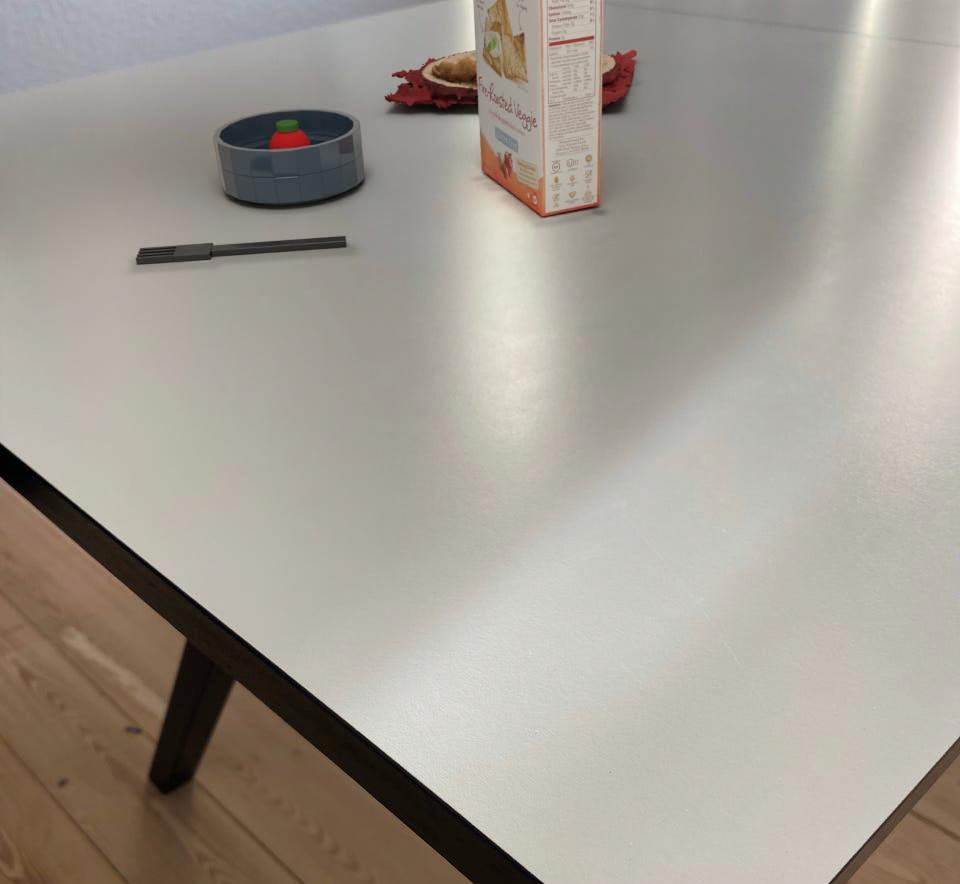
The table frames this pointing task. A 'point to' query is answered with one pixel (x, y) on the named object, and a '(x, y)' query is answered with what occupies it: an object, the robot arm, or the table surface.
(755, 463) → the table surface
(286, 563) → the table surface
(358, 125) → the bowl
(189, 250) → the fork
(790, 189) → the table surface
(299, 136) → the red rounded piece
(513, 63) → the cracker box
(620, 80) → the plate with food
